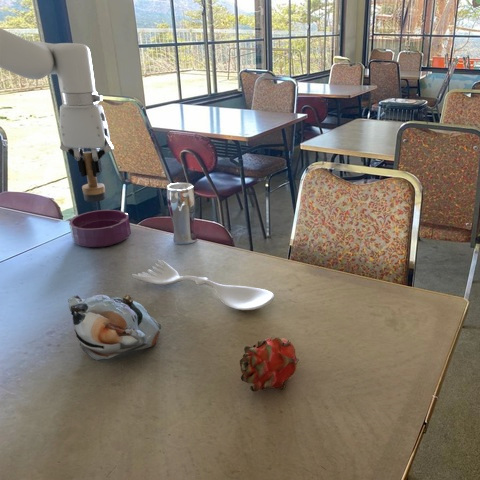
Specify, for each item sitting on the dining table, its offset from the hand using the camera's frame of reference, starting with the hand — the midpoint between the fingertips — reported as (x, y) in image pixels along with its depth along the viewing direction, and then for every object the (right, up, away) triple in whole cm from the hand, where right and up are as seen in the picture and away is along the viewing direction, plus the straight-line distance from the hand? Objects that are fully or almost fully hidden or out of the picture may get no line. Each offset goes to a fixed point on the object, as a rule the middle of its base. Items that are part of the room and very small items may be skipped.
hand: (91, 174), depth 120 cm
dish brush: (0, -6, +3) cm, 6 cm away
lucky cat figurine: (+22, -36, -35) cm, 55 cm away
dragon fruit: (+50, -39, -42) cm, 76 cm away
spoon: (+33, -28, -18) cm, 47 cm away
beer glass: (+21, -17, +8) cm, 28 cm away
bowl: (-1, -16, +8) cm, 18 cm away
